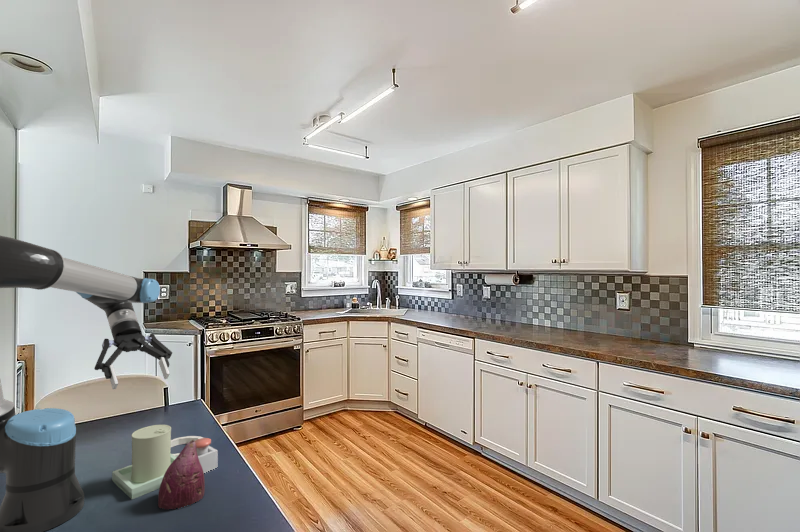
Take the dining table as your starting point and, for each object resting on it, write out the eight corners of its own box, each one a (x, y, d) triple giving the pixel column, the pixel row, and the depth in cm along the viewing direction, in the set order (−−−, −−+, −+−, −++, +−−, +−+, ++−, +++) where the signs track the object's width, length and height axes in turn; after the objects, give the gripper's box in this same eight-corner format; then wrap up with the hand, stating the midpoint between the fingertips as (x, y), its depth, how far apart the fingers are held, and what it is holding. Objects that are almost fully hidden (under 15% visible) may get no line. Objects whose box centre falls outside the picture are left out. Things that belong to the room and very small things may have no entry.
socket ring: (167, 466, 111) (167, 460, 111) (148, 453, 120) (148, 447, 120) (214, 449, 122) (214, 443, 122) (193, 437, 130) (193, 432, 130)
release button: (197, 469, 107) (197, 446, 107) (189, 464, 110) (189, 442, 110) (214, 462, 110) (214, 440, 111) (206, 458, 113) (206, 436, 113)
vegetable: (192, 495, 103) (204, 434, 107) (210, 505, 96) (222, 439, 101) (148, 503, 95) (162, 436, 99) (165, 514, 89) (179, 442, 93)
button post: (196, 477, 106) (196, 458, 106) (185, 470, 109) (186, 452, 109) (217, 468, 111) (217, 450, 111) (207, 461, 114) (207, 444, 114)
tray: (132, 499, 95) (132, 489, 95) (112, 480, 104) (112, 471, 104) (190, 475, 107) (190, 466, 107) (168, 460, 115) (168, 451, 115)
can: (157, 483, 100) (157, 436, 101) (122, 482, 101) (122, 436, 101) (178, 465, 110) (178, 422, 110) (146, 465, 110) (146, 422, 110)
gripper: (78, 323, 114) (94, 383, 104) (170, 315, 134) (190, 365, 124) (73, 339, 117) (87, 399, 108) (163, 329, 137) (182, 379, 127)
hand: (142, 381), depth 116 cm, fingers open, 13 cm apart
